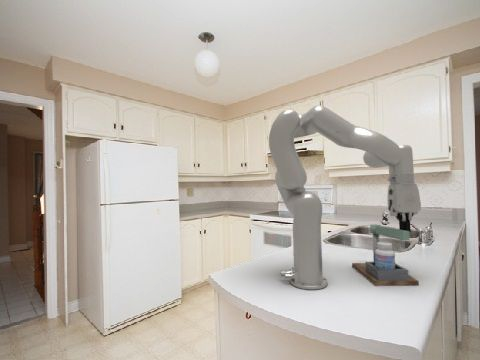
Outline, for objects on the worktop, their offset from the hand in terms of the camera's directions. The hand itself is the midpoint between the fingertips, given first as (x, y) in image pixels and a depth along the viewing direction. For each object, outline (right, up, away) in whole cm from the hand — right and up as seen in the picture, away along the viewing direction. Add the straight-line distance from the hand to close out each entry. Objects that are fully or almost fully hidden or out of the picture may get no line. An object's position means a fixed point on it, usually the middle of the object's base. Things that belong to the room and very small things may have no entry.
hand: (405, 231), depth 92 cm
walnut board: (-7, -17, +3) cm, 18 cm away
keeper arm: (-3, -2, +5) cm, 6 cm away
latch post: (-4, -15, +11) cm, 19 cm away
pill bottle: (-8, -15, -2) cm, 17 cm away
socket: (-8, -15, -2) cm, 17 cm away
